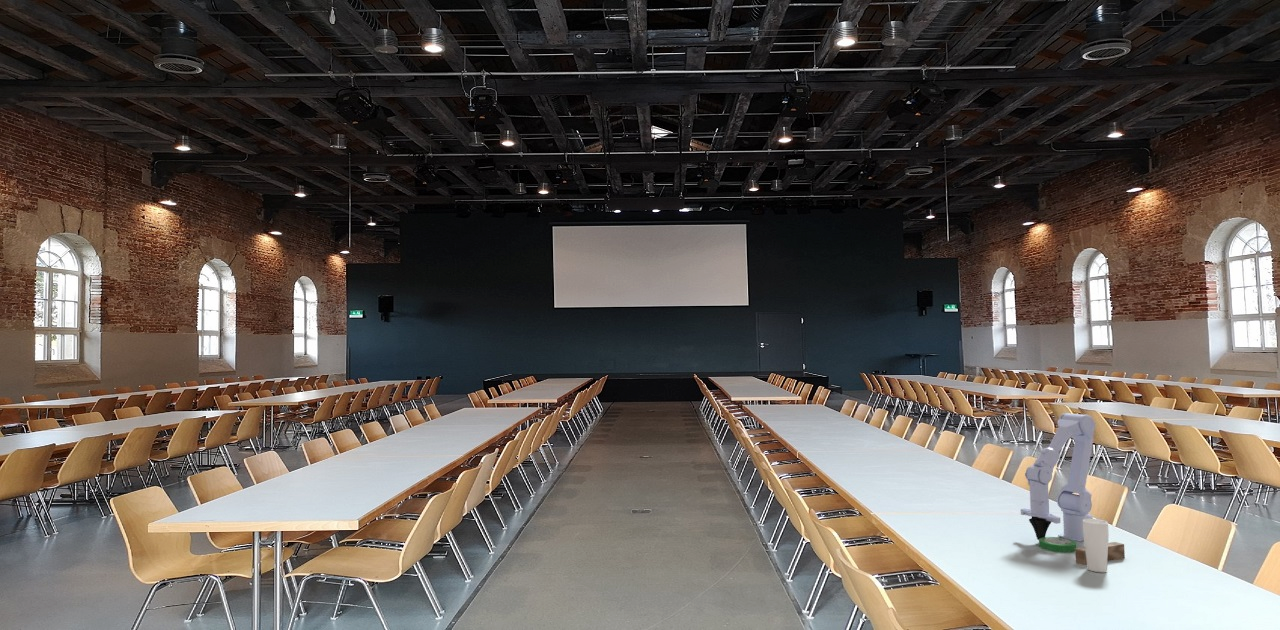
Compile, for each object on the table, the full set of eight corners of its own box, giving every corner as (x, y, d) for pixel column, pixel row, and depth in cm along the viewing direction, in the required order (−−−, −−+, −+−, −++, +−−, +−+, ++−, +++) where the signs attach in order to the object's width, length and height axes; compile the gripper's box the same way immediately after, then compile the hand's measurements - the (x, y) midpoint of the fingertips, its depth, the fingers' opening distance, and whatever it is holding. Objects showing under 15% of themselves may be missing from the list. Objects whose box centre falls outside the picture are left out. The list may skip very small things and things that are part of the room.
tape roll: (1032, 544, 252) (1032, 536, 252) (1065, 543, 252) (1064, 536, 252) (1049, 553, 241) (1049, 545, 241) (1083, 553, 241) (1083, 545, 241)
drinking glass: (1106, 567, 224) (1104, 519, 225) (1113, 574, 218) (1110, 524, 218) (1081, 566, 227) (1079, 517, 227) (1087, 572, 220) (1085, 523, 221)
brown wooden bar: (1115, 555, 236) (1115, 541, 237) (1124, 558, 234) (1124, 544, 234) (1075, 562, 230) (1075, 548, 230) (1084, 565, 227) (1083, 550, 227)
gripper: (1013, 497, 258) (1014, 535, 258) (1048, 505, 245) (1050, 546, 244) (1028, 495, 261) (1029, 533, 260) (1064, 503, 247) (1065, 543, 247)
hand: (1040, 539), depth 252 cm, fingers closed
